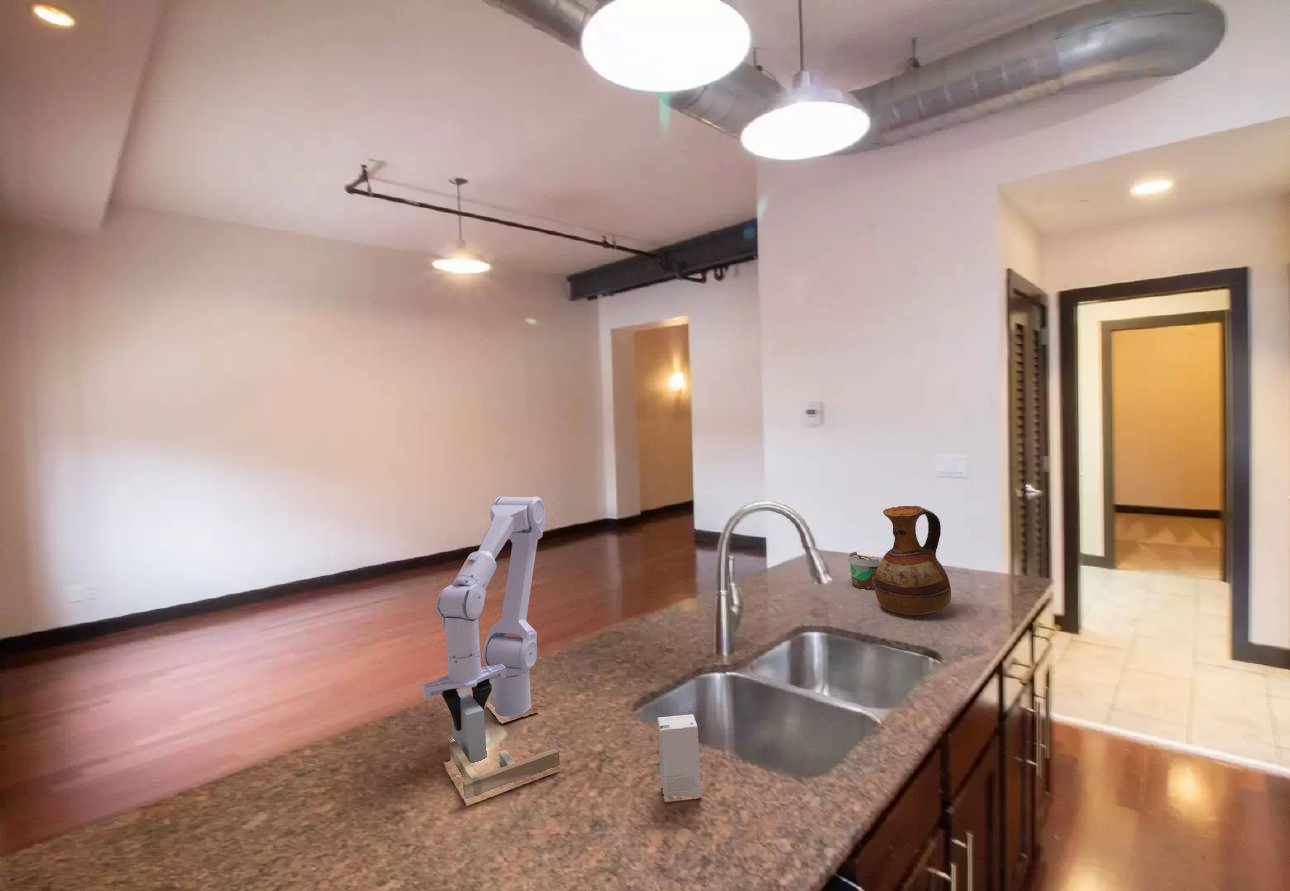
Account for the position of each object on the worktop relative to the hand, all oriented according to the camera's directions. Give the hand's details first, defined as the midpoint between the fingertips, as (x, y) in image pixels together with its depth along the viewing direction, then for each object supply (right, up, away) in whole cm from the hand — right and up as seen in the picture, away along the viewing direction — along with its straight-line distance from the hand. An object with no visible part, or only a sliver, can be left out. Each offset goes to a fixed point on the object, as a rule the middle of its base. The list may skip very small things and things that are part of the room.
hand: (467, 725), depth 113 cm
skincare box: (+38, -5, -14) cm, 40 cm away
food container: (+101, +5, +89) cm, 135 cm away
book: (0, -5, 0) cm, 5 cm away
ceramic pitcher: (+109, +3, +66) cm, 127 cm away
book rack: (+7, -5, -5) cm, 10 cm away
